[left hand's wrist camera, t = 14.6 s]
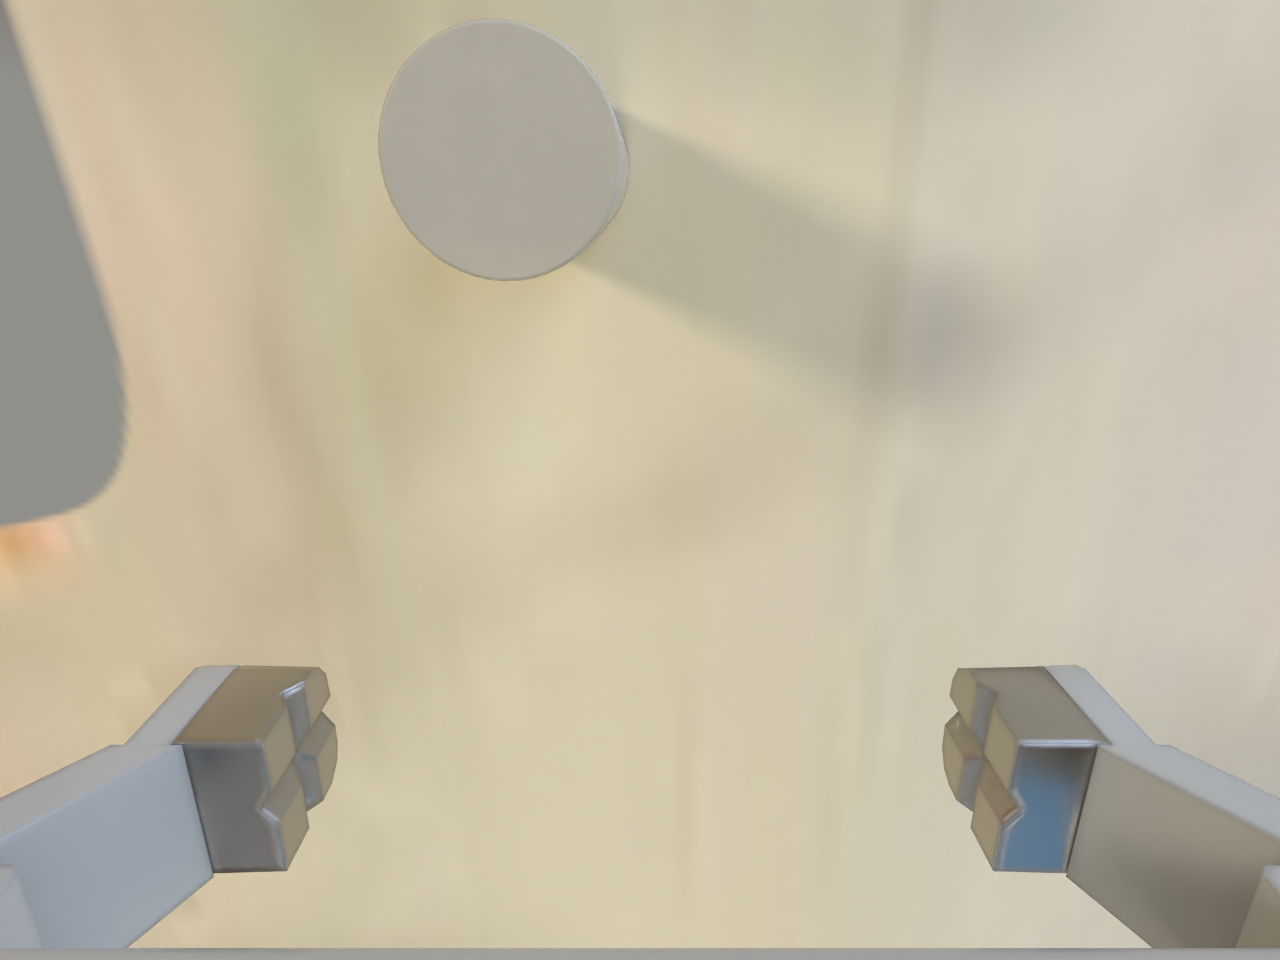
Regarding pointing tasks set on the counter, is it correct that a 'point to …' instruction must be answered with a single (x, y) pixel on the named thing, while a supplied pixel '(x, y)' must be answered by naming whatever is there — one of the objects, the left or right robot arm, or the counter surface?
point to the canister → (501, 150)
